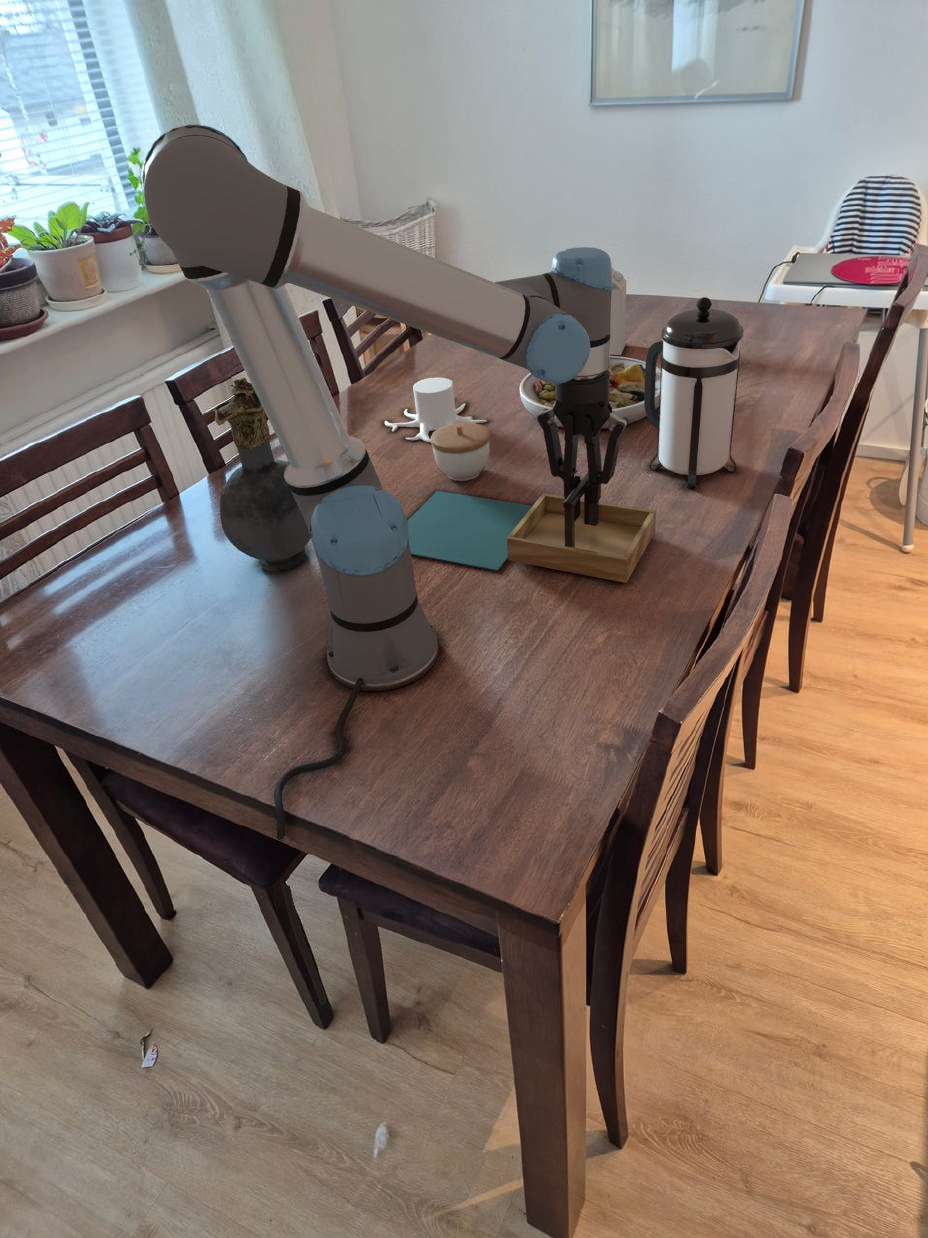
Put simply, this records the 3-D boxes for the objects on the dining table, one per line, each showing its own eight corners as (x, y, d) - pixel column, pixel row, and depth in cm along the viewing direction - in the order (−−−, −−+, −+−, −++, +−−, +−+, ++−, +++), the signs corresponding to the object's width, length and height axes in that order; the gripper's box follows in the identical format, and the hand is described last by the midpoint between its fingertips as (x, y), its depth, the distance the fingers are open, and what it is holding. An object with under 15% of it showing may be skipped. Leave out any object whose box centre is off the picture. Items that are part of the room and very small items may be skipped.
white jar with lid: (487, 487, 155) (483, 439, 149) (429, 486, 157) (423, 439, 152) (497, 460, 163) (493, 413, 158) (442, 459, 165) (436, 413, 160)
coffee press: (738, 450, 157) (756, 280, 139) (732, 492, 145) (751, 313, 128) (643, 445, 162) (648, 281, 145) (629, 485, 151) (634, 312, 133)
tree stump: (468, 396, 189) (465, 360, 184) (494, 430, 174) (491, 392, 169) (379, 414, 186) (374, 377, 181) (397, 450, 171) (391, 411, 166)
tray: (626, 582, 126) (628, 515, 119) (507, 560, 134) (503, 496, 127) (655, 532, 137) (658, 468, 130) (543, 514, 144) (541, 452, 137)
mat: (497, 571, 133) (497, 569, 133) (381, 549, 141) (381, 547, 141) (545, 509, 147) (545, 507, 147) (437, 492, 155) (436, 490, 155)
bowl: (696, 413, 171) (698, 375, 167) (561, 449, 164) (560, 410, 159) (619, 367, 194) (620, 332, 190) (498, 397, 187) (495, 362, 182)
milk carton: (590, 355, 202) (590, 271, 191) (595, 344, 207) (595, 262, 196) (620, 355, 200) (622, 271, 189) (625, 345, 205) (627, 261, 194)
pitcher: (227, 579, 138) (173, 402, 120) (292, 520, 152) (251, 353, 134) (284, 590, 134) (236, 408, 116) (345, 529, 148) (310, 357, 130)
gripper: (642, 364, 118) (636, 514, 132) (542, 356, 124) (546, 500, 138) (625, 385, 113) (620, 539, 127) (522, 375, 118) (528, 523, 132)
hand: (582, 518), depth 132 cm, fingers closed on tray, 2 cm apart
